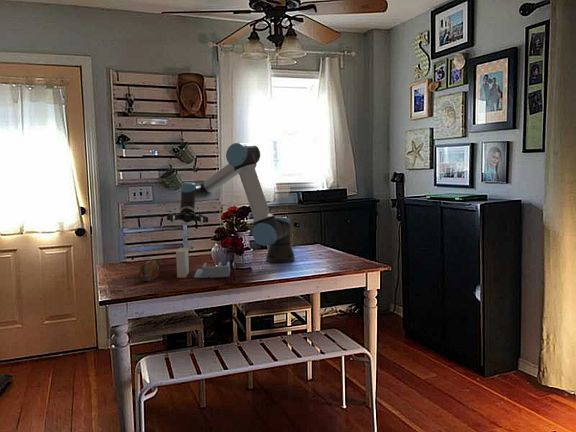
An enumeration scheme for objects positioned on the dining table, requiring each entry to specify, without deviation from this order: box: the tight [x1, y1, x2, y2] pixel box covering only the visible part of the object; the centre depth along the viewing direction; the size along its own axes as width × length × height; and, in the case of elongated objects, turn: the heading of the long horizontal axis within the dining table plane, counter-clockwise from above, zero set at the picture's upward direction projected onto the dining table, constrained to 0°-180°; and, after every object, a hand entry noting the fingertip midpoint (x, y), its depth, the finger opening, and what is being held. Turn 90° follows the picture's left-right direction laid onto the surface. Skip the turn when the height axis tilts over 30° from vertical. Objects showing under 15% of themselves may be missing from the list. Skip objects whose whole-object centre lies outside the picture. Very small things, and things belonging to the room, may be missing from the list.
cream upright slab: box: [175, 247, 190, 278], centre depth 234 cm, size 4×12×12 cm, turn 4°
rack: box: [193, 261, 231, 279], centre depth 234 cm, size 16×16×5 cm
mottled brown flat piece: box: [139, 259, 161, 282], centre depth 226 cm, size 15×3×8 cm, turn 168°
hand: (188, 221), depth 239 cm, fingers open, 13 cm apart
